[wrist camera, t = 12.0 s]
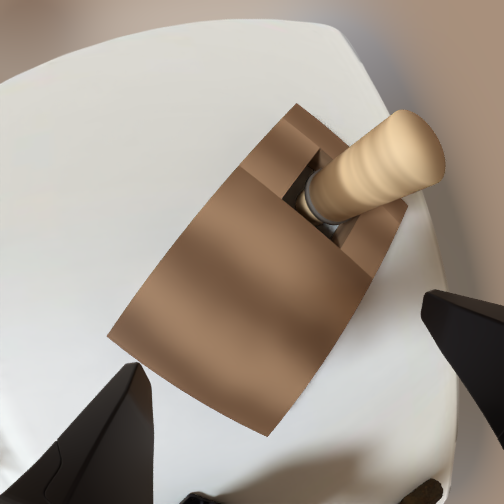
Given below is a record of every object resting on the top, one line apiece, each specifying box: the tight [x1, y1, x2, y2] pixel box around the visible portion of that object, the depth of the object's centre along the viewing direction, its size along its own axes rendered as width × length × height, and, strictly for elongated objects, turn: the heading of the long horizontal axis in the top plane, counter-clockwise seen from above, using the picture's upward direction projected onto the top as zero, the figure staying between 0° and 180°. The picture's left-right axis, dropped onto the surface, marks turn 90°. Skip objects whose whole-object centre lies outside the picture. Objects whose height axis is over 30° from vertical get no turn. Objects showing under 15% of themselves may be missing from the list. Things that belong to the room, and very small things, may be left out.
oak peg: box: [296, 110, 445, 226], centre depth 17 cm, size 4×4×12 cm
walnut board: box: [107, 103, 408, 437], centre depth 21 cm, size 22×13×3 cm, turn 144°
